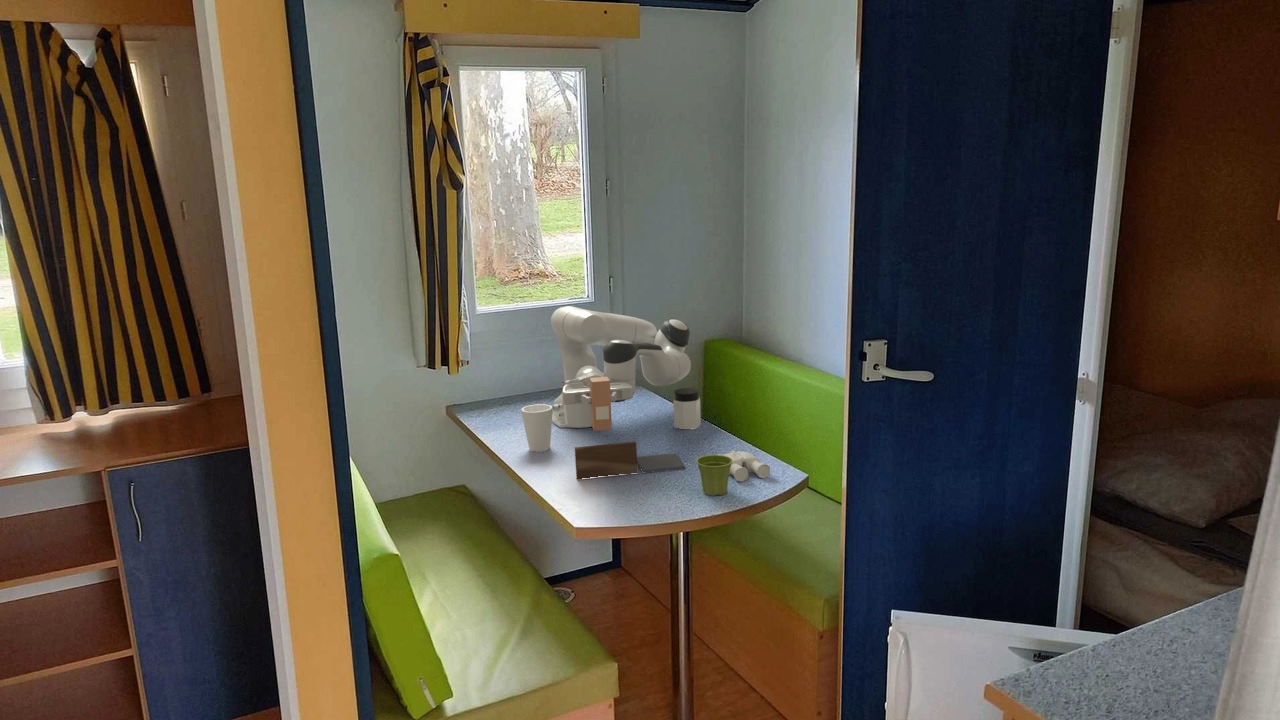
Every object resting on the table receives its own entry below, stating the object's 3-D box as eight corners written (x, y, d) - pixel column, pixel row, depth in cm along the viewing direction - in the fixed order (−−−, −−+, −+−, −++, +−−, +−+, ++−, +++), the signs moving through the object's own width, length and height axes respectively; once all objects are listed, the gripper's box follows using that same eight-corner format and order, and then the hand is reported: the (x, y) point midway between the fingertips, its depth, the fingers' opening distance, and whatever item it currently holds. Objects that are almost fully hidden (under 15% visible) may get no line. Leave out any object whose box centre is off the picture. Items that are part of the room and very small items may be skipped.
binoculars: (735, 484, 239) (734, 467, 238) (712, 466, 254) (712, 450, 253) (770, 478, 242) (770, 461, 241) (746, 460, 257) (745, 445, 256)
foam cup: (521, 447, 278) (517, 406, 276) (549, 442, 282) (546, 402, 279) (529, 455, 270) (526, 414, 267) (558, 450, 273) (556, 409, 271)
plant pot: (708, 483, 240) (707, 452, 238) (739, 489, 234) (739, 457, 233) (690, 494, 232) (689, 462, 230) (722, 500, 227) (721, 468, 225)
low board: (576, 478, 248) (574, 447, 246) (636, 472, 251) (635, 441, 249) (577, 480, 247) (575, 449, 245) (637, 473, 249) (636, 443, 248)
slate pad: (635, 459, 262) (635, 457, 261) (675, 455, 264) (675, 453, 263) (643, 473, 250) (642, 470, 250) (684, 468, 252) (684, 466, 252)
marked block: (591, 425, 253) (589, 377, 250) (609, 424, 254) (607, 376, 251) (594, 431, 248) (591, 382, 245) (612, 429, 249) (610, 380, 246)
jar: (706, 426, 292) (705, 390, 289) (688, 431, 286) (687, 395, 284) (686, 421, 298) (685, 386, 296) (669, 426, 293) (667, 391, 290)
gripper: (629, 396, 264) (638, 407, 251) (560, 402, 261) (565, 414, 248) (628, 375, 263) (637, 386, 250) (559, 381, 260) (564, 392, 246)
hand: (600, 400), depth 249 cm, fingers closed on marked block, 5 cm apart
